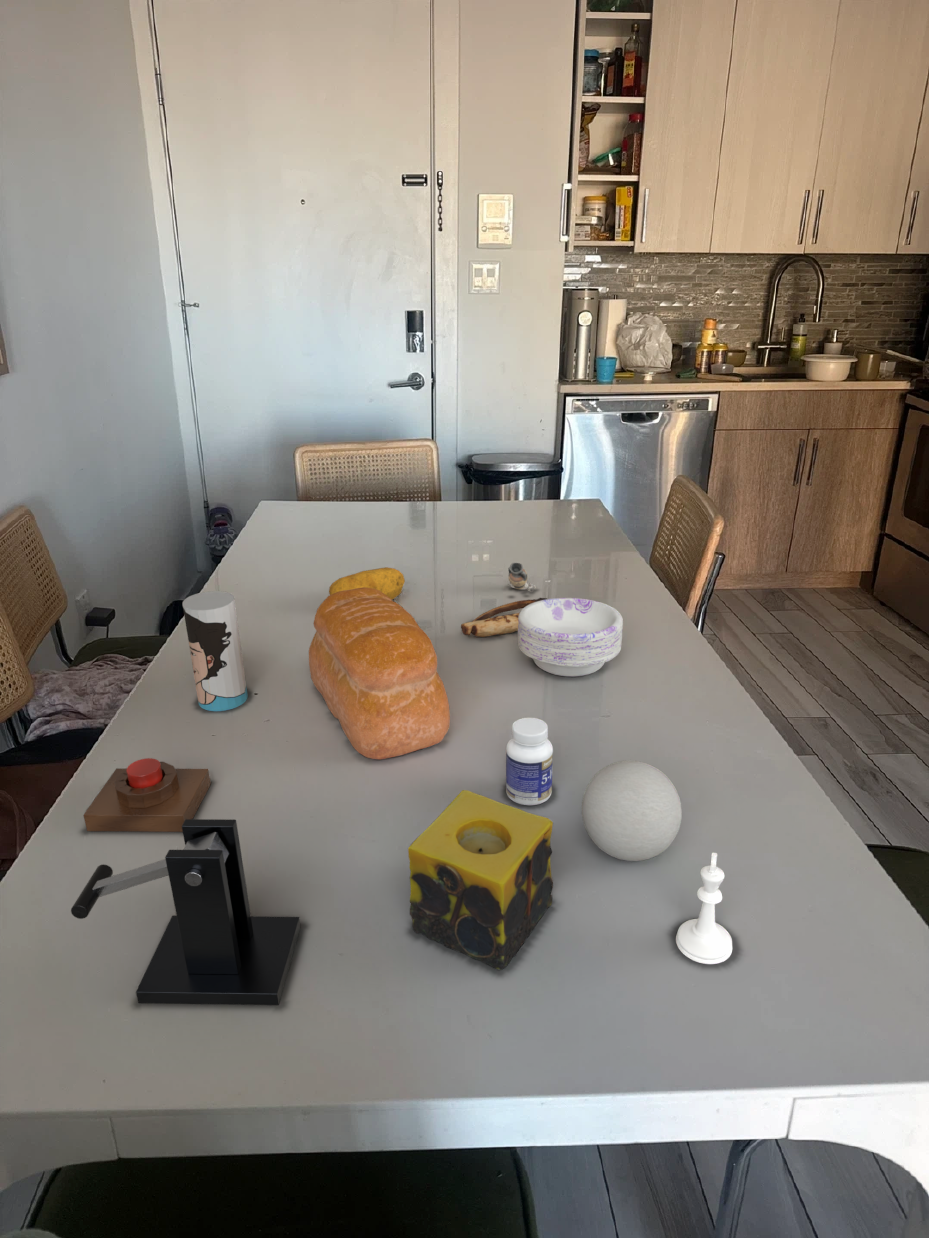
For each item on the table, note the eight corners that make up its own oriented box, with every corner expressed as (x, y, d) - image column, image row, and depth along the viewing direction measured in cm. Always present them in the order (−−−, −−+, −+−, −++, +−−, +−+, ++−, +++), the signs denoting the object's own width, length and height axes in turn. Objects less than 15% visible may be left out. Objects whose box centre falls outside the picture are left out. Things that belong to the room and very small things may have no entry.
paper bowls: (592, 635, 139) (594, 589, 136) (639, 676, 126) (642, 626, 122) (502, 650, 134) (502, 602, 131) (541, 695, 121) (542, 643, 118)
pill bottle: (550, 808, 97) (551, 740, 94) (503, 804, 98) (503, 737, 95) (553, 781, 102) (554, 715, 99) (508, 778, 103) (508, 712, 99)
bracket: (138, 1003, 74) (107, 873, 68) (174, 925, 82) (149, 804, 76) (278, 1005, 73) (259, 874, 68) (300, 927, 81) (285, 805, 76)
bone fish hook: (541, 609, 150) (445, 627, 143) (541, 584, 148) (444, 600, 141) (569, 628, 142) (469, 647, 135) (570, 600, 140) (469, 619, 133)
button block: (87, 831, 95) (79, 801, 94) (119, 783, 103) (113, 755, 102) (186, 831, 95) (180, 801, 93) (211, 784, 103) (206, 755, 101)
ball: (583, 881, 86) (587, 797, 82) (577, 819, 95) (580, 741, 91) (685, 883, 86) (694, 799, 82) (669, 821, 95) (676, 742, 91)
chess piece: (733, 929, 80) (745, 841, 76) (731, 969, 76) (744, 878, 72) (678, 919, 81) (687, 831, 77) (673, 957, 77) (682, 867, 73)
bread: (390, 661, 132) (385, 567, 126) (461, 744, 110) (458, 635, 104) (303, 679, 127) (293, 582, 121) (359, 771, 105) (349, 658, 99)
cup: (221, 683, 126) (207, 587, 120) (257, 693, 123) (245, 595, 117) (187, 704, 121) (171, 605, 114) (225, 715, 118) (210, 613, 112)
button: (124, 789, 96) (121, 775, 95) (136, 770, 99) (133, 757, 99) (156, 789, 96) (153, 776, 95) (167, 770, 99) (165, 757, 98)
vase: (526, 600, 153) (526, 568, 150) (497, 595, 155) (497, 564, 152) (537, 589, 157) (537, 558, 155) (509, 585, 159) (509, 554, 157)
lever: (79, 925, 73) (64, 904, 72) (105, 882, 78) (90, 862, 77) (216, 882, 70) (202, 860, 70) (234, 841, 75) (221, 820, 74)
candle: (464, 868, 88) (462, 786, 84) (554, 902, 84) (557, 817, 80) (408, 932, 80) (402, 845, 76) (504, 974, 76) (503, 884, 72)
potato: (414, 606, 151) (412, 569, 148) (339, 622, 145) (335, 584, 143) (396, 591, 157) (394, 556, 155) (323, 606, 152) (320, 570, 149)
